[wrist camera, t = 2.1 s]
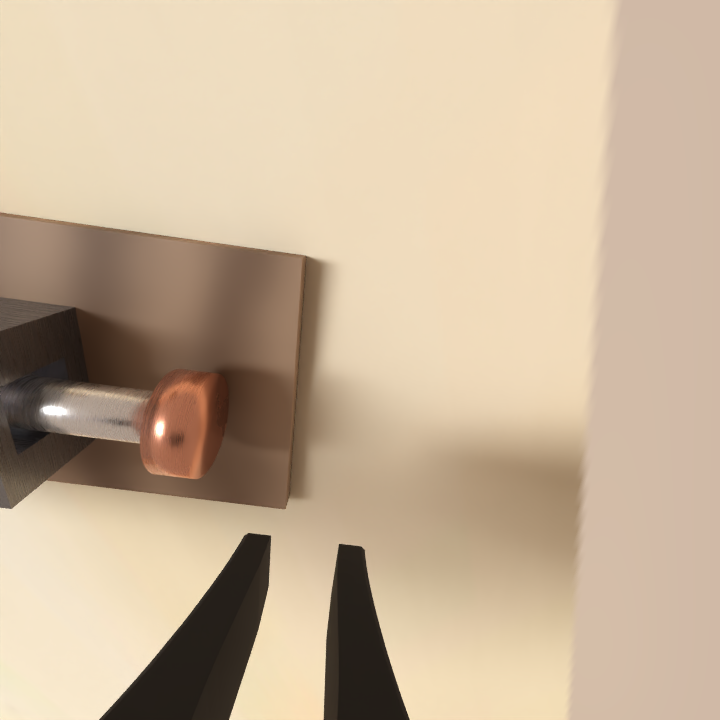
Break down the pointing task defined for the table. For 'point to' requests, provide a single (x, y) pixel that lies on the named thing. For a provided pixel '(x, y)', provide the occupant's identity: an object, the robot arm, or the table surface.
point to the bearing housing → (45, 359)
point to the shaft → (131, 416)
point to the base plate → (174, 341)
